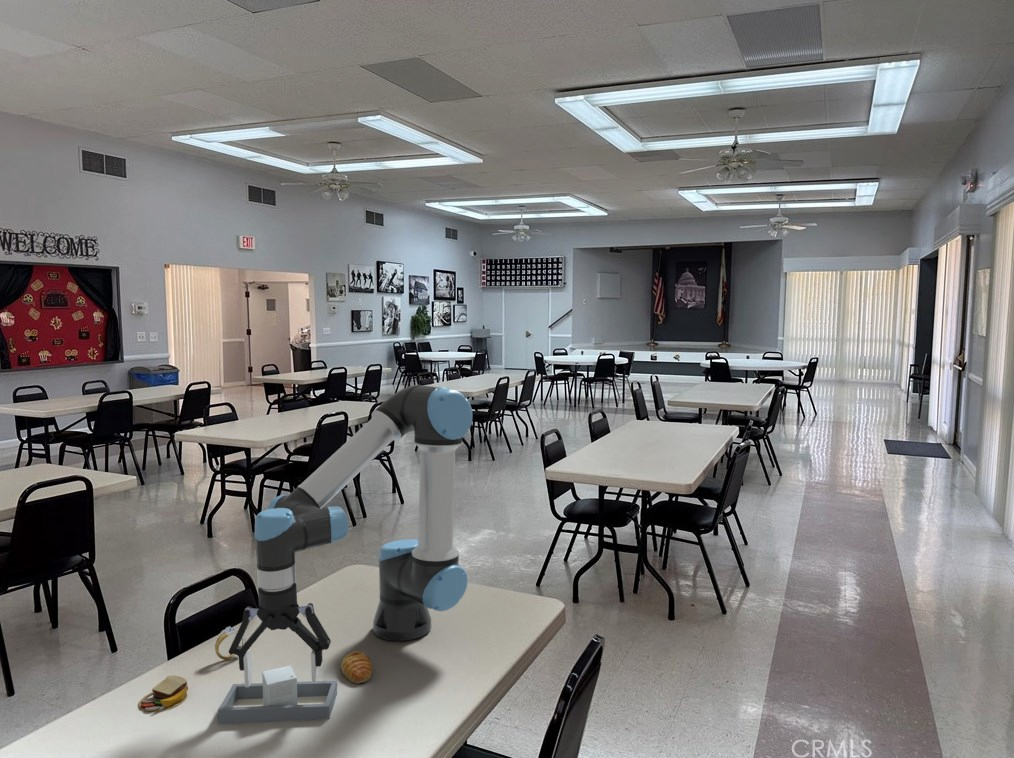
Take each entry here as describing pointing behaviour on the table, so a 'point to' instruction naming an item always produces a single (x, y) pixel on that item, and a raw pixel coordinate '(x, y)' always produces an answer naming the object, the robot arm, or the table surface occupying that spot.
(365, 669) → the pastry
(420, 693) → the table surface
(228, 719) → the tray
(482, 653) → the table surface
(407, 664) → the table surface
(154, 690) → the toy sandwich meal
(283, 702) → the product box
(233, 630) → the ring
